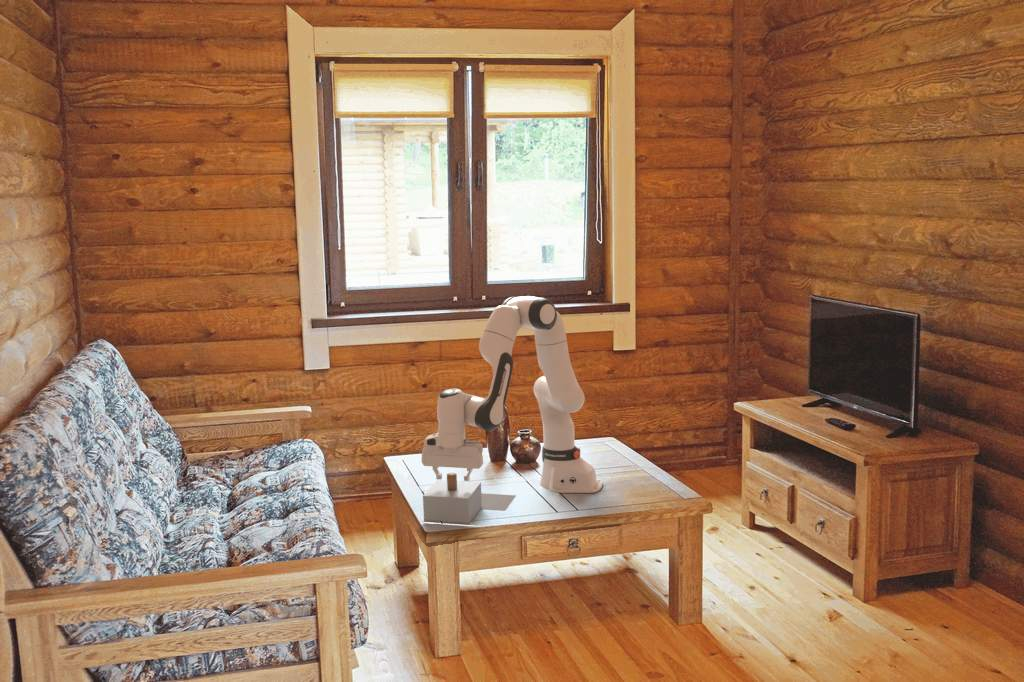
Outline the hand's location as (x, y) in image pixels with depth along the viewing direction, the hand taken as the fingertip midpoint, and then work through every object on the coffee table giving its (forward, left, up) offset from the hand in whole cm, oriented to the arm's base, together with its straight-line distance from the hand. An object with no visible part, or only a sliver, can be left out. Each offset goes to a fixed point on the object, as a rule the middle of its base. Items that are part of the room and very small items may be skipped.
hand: (453, 479), depth 336 cm
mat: (-7, -14, -12) cm, 20 cm away
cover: (0, 0, -12) cm, 12 cm away
